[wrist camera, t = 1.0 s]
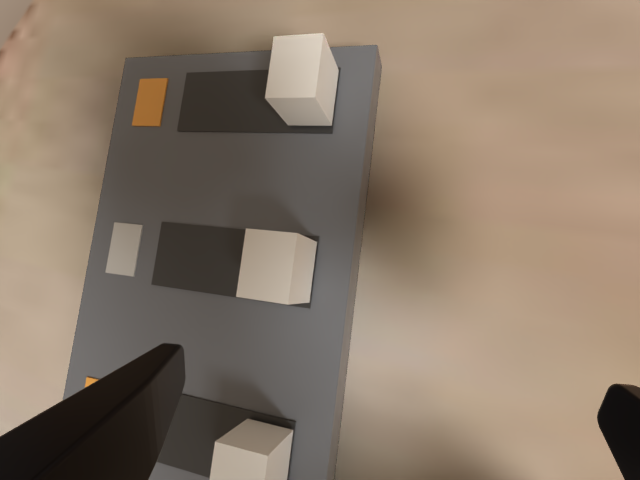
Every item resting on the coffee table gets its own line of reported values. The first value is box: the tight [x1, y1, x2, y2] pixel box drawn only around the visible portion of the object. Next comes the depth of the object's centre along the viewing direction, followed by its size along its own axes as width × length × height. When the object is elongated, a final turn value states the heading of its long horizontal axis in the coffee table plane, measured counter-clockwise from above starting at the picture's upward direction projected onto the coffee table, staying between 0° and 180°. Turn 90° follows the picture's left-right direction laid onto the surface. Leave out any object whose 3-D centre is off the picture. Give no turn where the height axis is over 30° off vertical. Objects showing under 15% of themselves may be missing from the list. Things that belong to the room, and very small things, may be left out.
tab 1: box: [210, 419, 293, 480], centre depth 17 cm, size 3×2×3 cm
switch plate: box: [63, 45, 382, 480], centre depth 22 cm, size 24×16×2 cm, turn 172°
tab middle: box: [236, 228, 317, 305], centre depth 18 cm, size 3×2×3 cm
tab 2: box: [265, 33, 339, 126], centre depth 19 cm, size 3×2×3 cm
